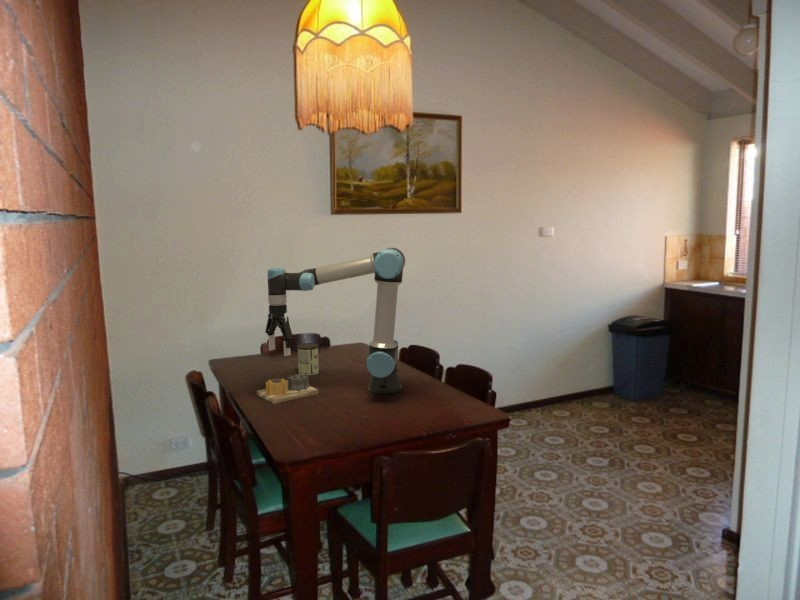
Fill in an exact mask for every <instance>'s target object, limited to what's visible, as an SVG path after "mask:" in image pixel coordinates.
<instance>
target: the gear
mask: <svg viewBox="0 0 800 600" xmlns="http://www.w3.org/2000/svg"><path fill="white" fill-rule="evenodd" d="M274 379H275V378H273V379H268V380H267V381H265V389H266V394H268V393H269V395H277V396H279V395H281V394H286V392H288V380H286V379H285V378H279V383H274Z"/></svg>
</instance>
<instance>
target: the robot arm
mask: <svg viewBox="0 0 800 600" xmlns="http://www.w3.org/2000/svg"><path fill="white" fill-rule="evenodd" d="M405 265H406V257H405V255H404V253H403V252H402V250H400V249H399V248H396V247H387V248H384V249H382V250H380V251H377V252H373V253H371V255H370V256H369V255H368V256H365V257H360V258H356V259H351V260H347V261H342V262H338V263H333V264H328V265H323V266H319V267H314V268H307V269H304V270H302V271H300V272H287V271H286V268H284V267H273V268H272V267H271V268H269V269H268V270H267V291H268V293H267V294H268V295H267V296H268V297H267V298H268V304H269V305H268V313H267V322H266V326H265V334H267V336H268V337H267V339H268V350H269V351H274V350H276V336H275V335H276V334H275V331H277V327H278V328H279V329H280V332H281V334H282V337H283V356H284V357H287V356H291V353H292V352H291V341H292V340H293V339H294V336H293V333H292V332H293V331H292V329H291V325H290V320H289V317H288V316H285V314H287V313H288V309H287V308H288V306H287V297H288V296H287V291H302V292H303V291H304V292H308V291H312V290H314V288H315V286H319V285H322V284H327V283H331V282H332V283H333V282H337V281H341V280H346V279H352V278H357V277H360V276H362V277H363V276H366V275H371V274H372V275H373V274H374V282H375V283H376V284H377V289H376V290H377V291H376V300H375V311H374V312H375V313H374V315H375V316H374V326H373V339H372V341H370V342H369V345H368V347H369V348H368V357H367V358H366V368H367V370H368V372H369V373H370V374H371V376H370V379H369V382H368V391H369V392H371V393H373V394H377V393H378V395H391V394H390V393H393V394H397V393H400V392H401V391H402V390H403V385H402V380H401V378H400V374H399V343H398V341H397V339H394V338H395V326H396V315H397V314H396V313H397V304H398V303H397V301H398V292H399V286H400V285H401V284H402V283H403V276H404V267H405ZM401 389H402V390H401ZM399 391H400V392H399ZM396 392H397V393H396Z"/></svg>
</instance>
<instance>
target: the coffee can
mask: <svg viewBox="0 0 800 600" xmlns="http://www.w3.org/2000/svg"><path fill="white" fill-rule="evenodd" d="M297 361H298V362H297V363H298V365H297V366H298V374H300V375H305V376H314V375H317V374H319V372H320V371H319V369H320V368H319V367H320V366H319V365H320V364H319V344H318V343H315V342H304V343H300V344H298V345H297Z"/></svg>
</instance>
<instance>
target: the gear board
mask: <svg viewBox="0 0 800 600" xmlns="http://www.w3.org/2000/svg"><path fill="white" fill-rule="evenodd" d="M309 378H310V375H300V374H299V373H298V374H297V373H296V374H294V375H288V377H287V378H286V379H287V380H288V392H286V394H281V395H279V396H277V395H269V393H268V394H266V388H262V389H258V390H256V395H257V396H258V397H261V398H262V399H264V400H266V401H268V402H270V403H272V404H273V405H275V404H278V403H283V402H288V401H292V400H296V399H297V400H298V399H301V398H306V397H312V396H315V395H319V394H320V391H319V388H316V387H313V386H311V385H310V379H309ZM273 379H274V383H279V379H280V378H273Z"/></svg>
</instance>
